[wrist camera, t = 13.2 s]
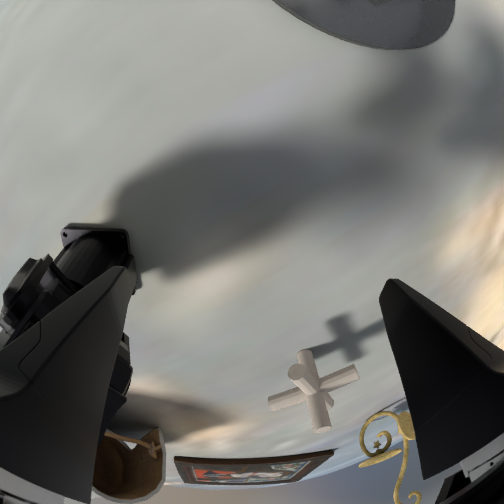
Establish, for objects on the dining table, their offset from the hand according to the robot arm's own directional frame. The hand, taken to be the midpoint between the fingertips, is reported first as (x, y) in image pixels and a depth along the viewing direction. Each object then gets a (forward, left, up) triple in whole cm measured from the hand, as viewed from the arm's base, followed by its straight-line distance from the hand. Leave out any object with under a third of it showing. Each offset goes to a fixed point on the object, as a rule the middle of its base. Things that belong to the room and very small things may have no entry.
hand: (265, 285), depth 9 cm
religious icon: (+10, -89, -13) cm, 90 cm away
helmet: (-23, -48, -12) cm, 54 cm away
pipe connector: (+9, -20, -12) cm, 25 cm away
